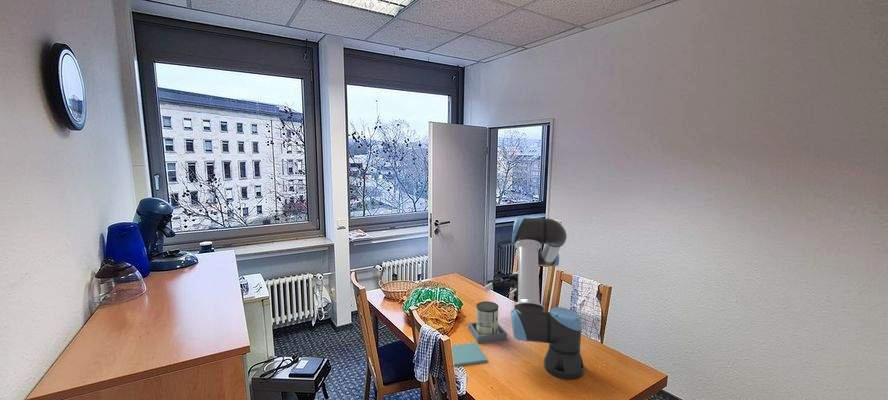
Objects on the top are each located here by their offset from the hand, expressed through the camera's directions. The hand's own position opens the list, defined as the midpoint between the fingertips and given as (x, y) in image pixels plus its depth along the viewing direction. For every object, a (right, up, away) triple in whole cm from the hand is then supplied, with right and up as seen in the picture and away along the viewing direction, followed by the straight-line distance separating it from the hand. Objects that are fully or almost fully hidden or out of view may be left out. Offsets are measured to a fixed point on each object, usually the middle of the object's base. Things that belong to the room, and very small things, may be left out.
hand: (497, 292), depth 174 cm
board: (-17, -20, -24) cm, 36 cm away
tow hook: (-23, -16, +13) cm, 31 cm away
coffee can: (-6, -18, -6) cm, 20 cm away
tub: (-6, -18, -6) cm, 20 cm away
